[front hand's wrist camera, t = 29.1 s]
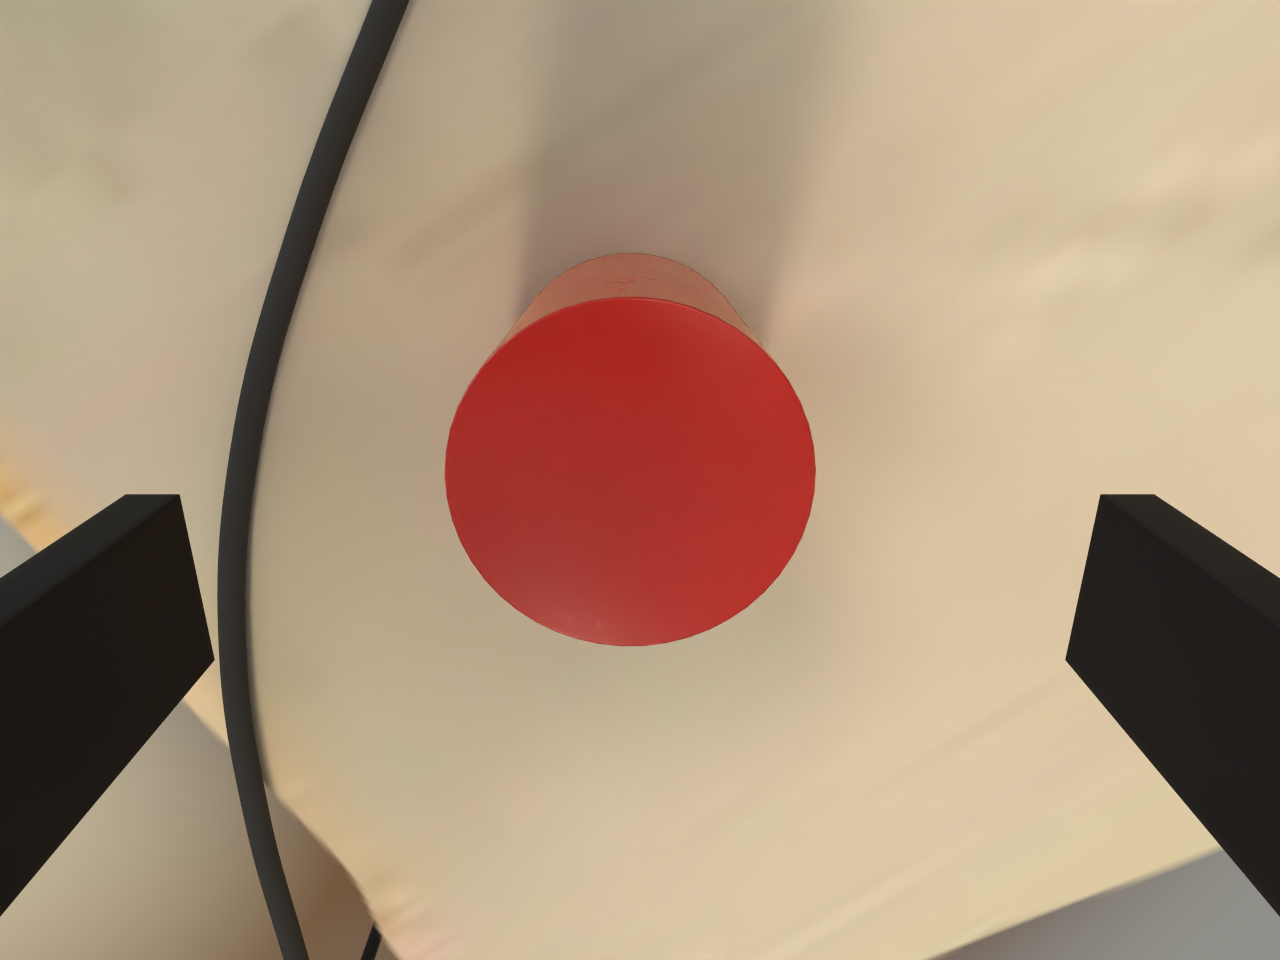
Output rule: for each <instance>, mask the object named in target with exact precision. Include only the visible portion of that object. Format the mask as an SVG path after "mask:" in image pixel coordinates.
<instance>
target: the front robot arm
mask: <svg viewBox="0 0 1280 960" xmlns="http://www.w3.org/2000/svg"><path fill="white" fill-rule="evenodd" d="M408 2H409V0H372V3H371V5H370V8H369V10H368V13H367V16H366V18H365V21H364V23H363V26H362V28H361V31H360V33H359V36H358V38H357V41H356V43H355V46H354V48H353V51H352V53H351V56H350V58H349V61H348V63H347V66H346V68H345V71H344V73H343V76H342V78H341V81H340V83H339V86H338V88H337V91H336V93H335V96H334V98H333V101H332V103H331V106H330V109H329V111H328V114H327V116H326V119H325V121H324V124H323V127H322V129H321V132H320V135H319V137H318V140H317V143H316V145H315V148H314V151H313V153H312V156H311V159H310V162H309V165H308V167H307V170H306V173H305V176H304V179H303V182H302V185H301V188H300V191H299V193H298V196H297V199H296V202H295V206H294V209H293V212H292V215H291V218H290V221H289V224H288V227H287V230H286V234H285V237H284V240H283V243H282V246H281V249H280V253H279V256H278V259H277V262H276V265H275V268H274V272H273V275H272V278H271V281H270V284H269V288H268V291H267V294H266V298H265V301H264V304H263V308H262V311H261V314H260V318H259V321H258V325H257V328H256V332H255V336H254V339H253V343H252V347H251V351H250V354H249V358H248V363H247V367H246V371H245V375H244V380H243V384H242V389H241V393H240V398H239V403H238V408H237V414H236V419H235V424H234V430H233V436H232V442H231V448H230V455H229V462H228V468H227V475H226V482H225V490H224V498H223V506H222V516H221V526H220V538H219V554H218V594H217V597H218V638H219V659H220V674H221V686H222V697H223V706H224V714H225V721H226V728H227V734H228V741H229V746H230V752H231V757H232V763H233V768H234V773H235V778H236V783H237V787H238V792H239V797H240V801H241V806H242V811H243V816H244V820H245V825H246V829H247V833H248V838H249V842H250V846H251V850H252V854H253V858H254V862H255V865H256V869H257V873H258V876H259V880H260V883H261V887H262V890H263V893H264V897H265V900H266V903H267V906H268V910H269V913H270V916H271V919H272V923H273V926H274V929H275V932H276V935H277V939H278V942H279V945H280V948H281V952H282V955H283V959H284V960H309V958H308V954H307V950H306V947H305V943H304V940H303V936H302V933H301V929H300V926H299V923H298V919H297V916H296V913H295V909H294V906H293V902H292V899H291V896H290V892H289V889H288V886H287V882H286V879H285V875H284V871H283V868H282V864H281V860H280V856H279V853H278V849H277V845H276V840H275V836H274V832H273V827H272V823H271V818H270V813H269V809H268V804H267V799H266V794H265V789H264V784H263V779H262V773H261V768H260V763H259V758H258V752H257V746H256V741H255V734H254V728H253V721H252V713H251V705H250V696H249V685H248V672H247V653H246V622H245V581H246V556H247V542H248V530H249V520H250V512H251V503H252V496H253V489H254V482H255V475H256V469H257V463H258V457H259V451H260V445H261V439H262V434H263V428H264V423H265V418H266V413H267V408H268V403H269V399H270V394H271V390H272V386H273V381H274V377H275V373H276V369H277V365H278V361H279V358H280V354H281V350H282V347H283V343H284V340H285V336H286V333H287V329H288V326H289V323H290V320H291V316H292V313H293V310H294V307H295V304H296V300H297V297H298V294H299V291H300V288H301V285H302V282H303V279H304V276H305V272H306V269H307V266H308V263H309V260H310V257H311V254H312V251H313V248H314V245H315V242H316V239H317V236H318V233H319V230H320V227H321V224H322V221H323V218H324V215H325V212H326V209H327V206H328V203H329V201H330V198H331V195H332V192H333V189H334V187H335V184H336V181H337V178H338V176H339V173H340V170H341V168H342V165H343V162H344V160H345V157H346V155H347V152H348V149H349V147H350V144H351V142H352V139H353V137H354V134H355V132H356V129H357V127H358V124H359V122H360V119H361V117H362V114H363V112H364V109H365V107H366V104H367V102H368V100H369V97H370V95H371V92H372V90H373V87H374V85H375V83H376V80H377V78H378V75H379V73H380V71H381V68H382V66H383V63H384V61H385V58H386V56H387V54H388V51H389V49H390V46H391V44H392V41H393V39H394V36H395V34H396V32H397V29H398V27H399V24H400V22H401V19H402V17H403V14H404V12H405V9H406V7H407V4H408ZM214 660H215V659H214V655H213V650H212V645H211V640H210V636H209V631H208V626H207V622H206V617H205V612H204V608H203V603H202V598H201V593H200V589H199V584H198V579H197V575H196V570H195V565H194V560H193V556H192V551H191V546H190V542H189V537H188V532H187V527H186V523H185V518H184V513H183V509H182V504H181V499H180V494H126V495H124V496H123V497H121V498H120V499H118V500H117V501H115V502H114V503H112V504H111V505H109V506H108V507H106V508H105V509H103V510H102V511H100V512H99V513H97V514H96V515H94V516H93V517H91V518H90V519H88V520H87V521H85V522H84V523H82V524H81V525H79V526H78V527H76V528H75V529H73V530H72V531H70V532H69V533H67V534H66V535H64V536H63V537H61V538H60V539H58V540H57V541H55V542H54V543H52V544H51V545H49V546H48V547H46V548H45V549H43V550H42V551H40V552H39V553H37V554H36V555H34V556H33V557H31V558H30V559H28V560H27V561H25V562H24V563H22V564H21V565H19V566H18V567H16V568H15V569H13V570H12V571H10V572H9V573H7V574H6V575H5V576H3V577H1V578H0V916H1V915H2V914H3V913H4V911H5V910H6V909H7V908H8V907H9V905H10V904H11V903H12V902H13V901H14V899H15V898H16V897H17V896H18V895H19V893H20V892H21V891H22V890H23V889H24V887H25V886H26V885H27V884H28V883H29V881H30V880H31V879H32V878H33V877H34V875H35V874H36V873H37V872H38V871H39V870H40V868H41V867H42V866H43V865H44V863H45V862H46V861H47V860H48V859H49V857H50V856H51V855H52V854H53V853H54V852H55V850H56V849H57V848H58V847H59V846H60V844H61V843H62V842H63V841H64V840H65V838H66V837H67V836H68V835H69V834H70V832H71V831H72V830H73V829H74V828H75V826H76V825H77V824H78V823H79V822H80V820H81V819H82V818H83V817H84V816H85V814H86V813H87V812H88V811H89V810H90V808H91V807H92V806H93V805H94V804H95V802H96V801H97V800H98V799H99V798H100V797H101V795H102V794H103V793H104V792H105V790H106V789H107V788H108V787H109V786H110V785H111V783H112V782H113V781H114V780H115V779H116V777H117V776H118V775H119V774H120V773H121V771H122V770H123V769H124V768H125V767H126V765H127V764H128V763H129V762H130V761H131V759H132V758H133V757H134V756H135V755H136V753H137V752H138V751H139V750H140V749H141V747H142V746H143V745H144V744H145V743H146V741H147V740H148V739H149V738H150V737H151V735H152V734H153V733H154V732H155V731H156V729H157V728H158V727H159V726H160V725H161V723H162V722H163V721H164V720H165V719H166V718H167V716H168V715H169V714H170V713H171V712H172V710H173V709H174V708H175V707H176V706H177V704H178V703H179V702H180V701H181V700H182V698H183V697H184V696H185V695H186V694H187V692H188V691H189V690H190V689H191V688H192V686H193V685H194V684H195V683H196V682H197V680H198V679H199V678H200V677H201V676H202V674H203V673H204V672H205V671H206V670H207V668H208V667H209V666H210V665H211V664H212V662H213V661H214ZM1065 660H1066V661H1067V662H1068V664H1069V665H1070V666H1071V667H1072V668H1073V670H1074V671H1075V672H1076V673H1077V674H1078V676H1079V677H1080V678H1081V679H1082V680H1083V682H1084V683H1085V684H1086V685H1087V686H1088V688H1089V689H1090V690H1091V691H1092V692H1093V694H1094V695H1095V696H1096V697H1097V698H1098V700H1099V701H1100V702H1101V703H1102V704H1103V706H1104V707H1105V708H1106V709H1107V710H1108V712H1109V713H1110V714H1111V715H1112V716H1113V718H1114V719H1115V720H1116V721H1117V722H1118V724H1119V725H1120V726H1121V727H1122V728H1123V729H1124V731H1125V732H1126V733H1127V734H1128V735H1129V737H1130V738H1131V739H1132V740H1133V741H1134V743H1135V744H1136V745H1137V746H1138V747H1139V749H1140V750H1141V751H1142V752H1143V753H1144V755H1145V756H1146V757H1147V758H1148V759H1149V761H1150V762H1151V763H1152V764H1153V765H1154V767H1155V768H1156V769H1157V770H1158V771H1159V773H1160V774H1161V775H1162V776H1163V777H1164V779H1165V780H1166V781H1167V782H1168V783H1169V785H1170V786H1171V787H1172V788H1173V789H1174V791H1175V792H1176V793H1177V794H1178V795H1179V797H1180V798H1181V799H1182V800H1183V801H1184V802H1185V804H1186V805H1187V806H1188V807H1189V808H1190V810H1191V811H1192V812H1193V813H1194V814H1195V816H1196V817H1197V818H1198V819H1199V820H1200V822H1201V823H1202V824H1203V825H1204V826H1205V828H1206V829H1207V830H1208V831H1209V832H1210V834H1211V835H1212V836H1213V837H1214V838H1215V840H1216V841H1217V842H1218V843H1219V844H1220V846H1221V847H1222V848H1223V849H1224V850H1225V852H1226V853H1227V854H1228V855H1229V856H1230V858H1231V859H1232V860H1233V861H1234V862H1235V864H1236V865H1237V866H1238V867H1239V868H1240V870H1241V871H1242V872H1243V873H1244V874H1245V875H1246V877H1247V878H1248V879H1249V880H1250V881H1251V883H1252V884H1253V885H1254V886H1255V887H1256V889H1257V890H1258V891H1259V892H1260V893H1261V895H1262V896H1263V897H1264V898H1265V899H1266V901H1267V902H1268V903H1269V904H1270V905H1271V907H1272V908H1273V909H1274V910H1275V911H1276V913H1277V914H1278V915H1279V916H1280V578H1279V577H1277V576H1276V575H1274V574H1273V573H1271V572H1270V571H1268V570H1267V569H1265V568H1264V567H1262V566H1261V565H1259V564H1258V563H1256V562H1255V561H1253V560H1252V559H1250V558H1249V557H1247V556H1246V555H1244V554H1243V553H1241V552H1240V551H1238V550H1237V549H1235V548H1234V547H1232V546H1231V545H1229V544H1228V543H1226V542H1225V541H1223V540H1222V539H1220V538H1219V537H1217V536H1216V535H1214V534H1213V533H1211V532H1210V531H1208V530H1207V529H1205V528H1204V527H1202V526H1201V525H1199V524H1198V523H1196V522H1195V521H1193V520H1192V519H1190V518H1189V517H1187V516H1186V515H1184V514H1183V513H1181V512H1180V511H1178V510H1177V509H1175V508H1174V507H1172V506H1171V505H1169V504H1168V503H1166V502H1165V501H1163V500H1162V499H1160V498H1159V497H1157V496H1156V495H1154V494H1100V499H1099V504H1098V509H1097V513H1096V518H1095V523H1094V527H1093V532H1092V537H1091V542H1090V546H1089V551H1088V556H1087V560H1086V565H1085V570H1084V575H1083V579H1082V584H1081V589H1080V593H1079V598H1078V603H1077V608H1076V612H1075V617H1074V622H1073V626H1072V631H1071V636H1070V640H1069V645H1068V650H1067V655H1066V659H1065ZM382 936H383V935H382V933H381V932H380V930H379V928H378V925H377V923H376V921H375V920H374V922H373V925H372V928H371V931H370V934H369V937H368V940H367V942H366V945H365V948H364V951H363V954H362V957H361V960H375V957H376V954H377V951H378V948H379V945H380V942H381V939H382Z"/></svg>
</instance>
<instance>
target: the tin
mask: <svg viewBox="0 0 1280 960" xmlns="http://www.w3.org/2000/svg"><path fill="white" fill-rule="evenodd" d="M815 474H816V467H815V454H814V445H813V440H812V436H811V431H810V427H809V423H808V420H807V418H806V415H805V412H804V410H803V407H802V404H801V402H800V400H799V398H798V396H797V395H796V393H795V391H794V389H793V387H792V385H791V383H790V382H789V380H788V379H787V377H786V376H785V375H784V373H783V372H782V371H781V369H780V368H779V367H778V365H777V364H776V363H775V361H774V360H773V359H772V357H771V356H770V355H769V354H768V352H767V351H766V350H765V348H764V347H763V346H762V345H761V343H760V342H759V341H758V339H757V338H756V337H755V336H754V334H753V333H752V332H751V330H750V329H749V328H748V326H747V325H746V324H745V323H744V321H743V320H742V319H741V317H740V316H739V315H738V314H737V312H736V311H735V310H734V308H733V307H732V306H731V305H730V303H729V302H728V301H727V299H726V298H725V297H724V296H723V295H722V294H721V293H720V292H719V291H718V290H717V288H716V287H715V286H714V285H713V284H711V283H710V282H709V281H708V280H706V279H705V278H704V277H702V276H701V275H700V274H698V273H697V272H695V271H693V270H691V269H690V268H688V267H686V266H684V265H682V264H679V263H677V262H675V261H672V260H670V259H666V258H662V257H658V256H654V255H647V254H639V253H623V254H614V255H607V256H602V257H599V258H596V259H592V260H589V261H586V262H584V263H582V264H580V265H577V266H575V267H573V268H571V269H570V270H568V271H566V272H565V273H563V274H562V275H560V276H559V277H557V278H556V279H555V280H554V281H552V282H551V283H550V284H549V285H548V286H546V288H545V289H544V290H543V291H542V292H541V293H540V294H539V295H538V296H537V297H536V298H535V300H534V301H533V302H532V303H531V305H530V306H529V307H528V308H527V310H526V311H525V312H524V314H523V315H522V316H521V317H520V319H519V320H518V321H517V322H516V324H515V325H514V326H513V327H512V329H511V330H510V331H509V332H508V334H507V335H506V336H505V338H504V339H503V340H502V341H501V343H500V344H499V345H498V346H497V348H496V349H495V350H494V351H493V353H492V354H491V355H490V356H489V358H488V359H487V360H486V362H485V363H484V364H483V365H482V367H481V368H480V370H479V371H478V373H477V374H476V375H475V377H474V378H473V380H472V381H471V383H470V384H469V385H468V387H467V389H466V391H465V393H464V395H463V397H462V399H461V401H460V403H459V405H458V407H457V410H456V413H455V416H454V419H453V422H452V425H451V428H450V433H449V438H448V443H447V449H446V459H445V483H446V493H447V500H448V505H449V509H450V513H451V517H452V521H453V524H454V526H455V529H456V531H457V534H458V537H459V539H460V542H461V543H462V545H463V547H464V549H465V551H466V553H467V554H468V556H469V558H470V560H471V561H472V563H473V564H474V566H475V567H476V568H477V570H478V571H479V572H480V574H481V575H482V577H483V578H484V579H485V580H486V581H487V583H488V584H489V585H490V586H491V587H492V588H493V589H494V590H495V591H496V592H497V593H498V594H499V595H500V596H501V597H502V598H503V599H505V600H506V601H507V602H508V603H509V604H511V605H512V606H513V607H514V608H515V609H517V610H518V611H520V612H521V613H523V614H524V615H526V616H528V617H529V618H531V619H532V620H534V621H535V622H537V623H539V624H541V625H543V626H545V627H548V628H550V629H552V630H554V631H556V632H559V633H561V634H564V635H567V636H570V637H573V638H576V639H580V640H584V641H589V642H593V643H598V644H606V645H616V646H646V645H654V644H662V643H668V642H672V641H676V640H680V639H684V638H688V637H691V636H694V635H696V634H699V633H702V632H704V631H707V630H709V629H711V628H713V627H715V626H717V625H719V624H721V623H723V622H725V621H727V620H729V619H730V618H732V617H733V616H735V615H736V614H738V613H739V612H741V611H742V610H744V609H745V608H746V607H748V606H749V605H750V604H751V603H752V602H754V601H755V600H756V599H757V598H758V597H759V596H760V595H762V594H763V593H764V592H765V591H766V590H767V589H768V587H769V586H770V585H771V584H772V583H773V582H774V581H775V580H776V578H777V577H778V576H779V575H780V574H781V572H782V571H783V569H784V568H785V566H786V565H787V563H788V562H789V560H790V559H791V557H792V556H793V554H794V552H795V550H796V548H797V546H798V544H799V542H800V540H801V538H802V536H803V533H804V530H805V527H806V525H807V522H808V519H809V516H810V512H811V507H812V502H813V497H814V490H815Z"/></svg>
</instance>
